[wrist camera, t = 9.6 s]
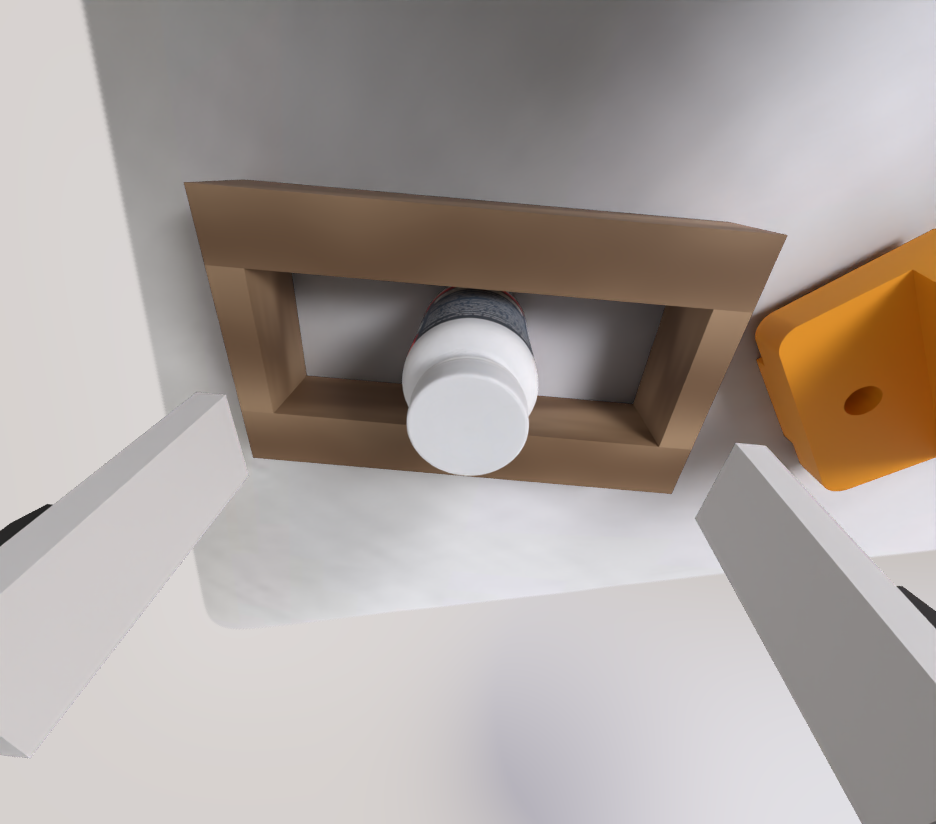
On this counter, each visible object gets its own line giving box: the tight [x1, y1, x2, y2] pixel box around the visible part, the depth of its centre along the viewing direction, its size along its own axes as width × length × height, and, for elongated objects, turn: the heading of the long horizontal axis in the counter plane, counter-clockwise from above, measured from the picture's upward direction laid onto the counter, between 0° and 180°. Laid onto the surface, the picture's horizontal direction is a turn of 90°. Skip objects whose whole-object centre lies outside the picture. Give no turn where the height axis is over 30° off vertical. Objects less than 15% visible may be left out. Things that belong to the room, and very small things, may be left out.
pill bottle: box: [402, 286, 538, 476], centre depth 17 cm, size 5×5×9 cm
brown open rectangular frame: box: [184, 180, 787, 494], centre depth 19 cm, size 12×21×4 cm, turn 86°
